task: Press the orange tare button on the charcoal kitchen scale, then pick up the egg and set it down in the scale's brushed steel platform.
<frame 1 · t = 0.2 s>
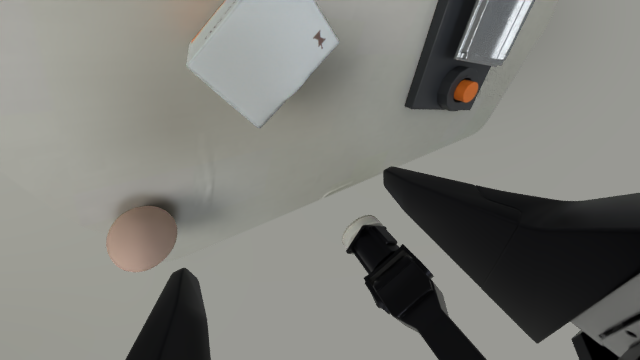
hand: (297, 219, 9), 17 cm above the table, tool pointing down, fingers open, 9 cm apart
egg: (149, 213, 24), on the table
tare button: (465, 91, 30), point 3 cm above the table, slide at 0.1 cm
cosmetic box: (232, 38, 19), on the table
scale: (458, 50, 30), on the table
brushed steel platform: (492, 22, 26), resting on scale
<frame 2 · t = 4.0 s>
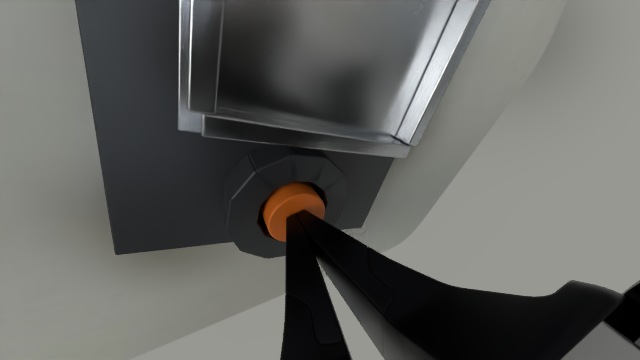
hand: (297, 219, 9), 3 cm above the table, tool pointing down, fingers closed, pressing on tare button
tare button: (292, 208, 10), point 3 cm above the table, slide at -0.6 cm, touching gripper
scale: (294, 92, 10), on the table
brushed steel platform: (353, 6, 7), resting on scale
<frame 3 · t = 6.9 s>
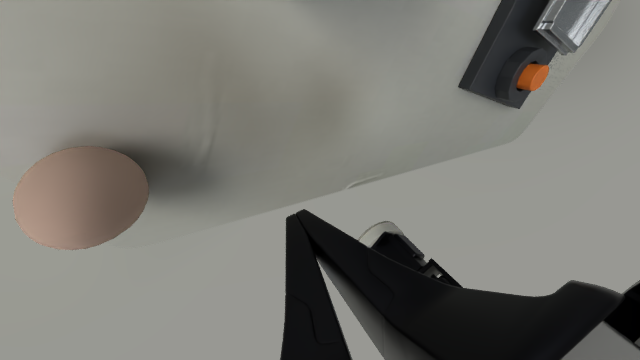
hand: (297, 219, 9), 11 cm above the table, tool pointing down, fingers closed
egg: (108, 166, 15), on the table
tare button: (531, 77, 25), point 3 cm above the table, slide at 0.1 cm
scale: (524, 30, 26), on the table
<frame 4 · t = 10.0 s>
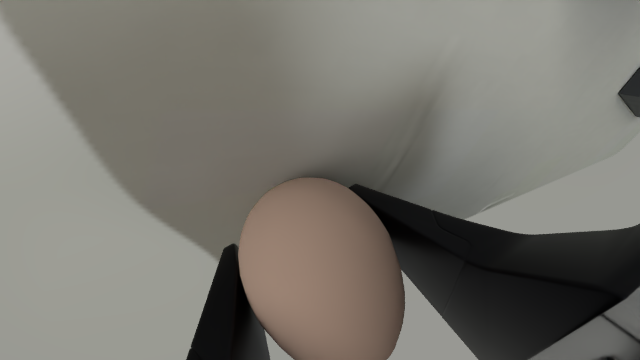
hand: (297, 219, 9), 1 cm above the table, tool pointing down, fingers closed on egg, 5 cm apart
egg: (285, 199, 11), on the table, touching gripper
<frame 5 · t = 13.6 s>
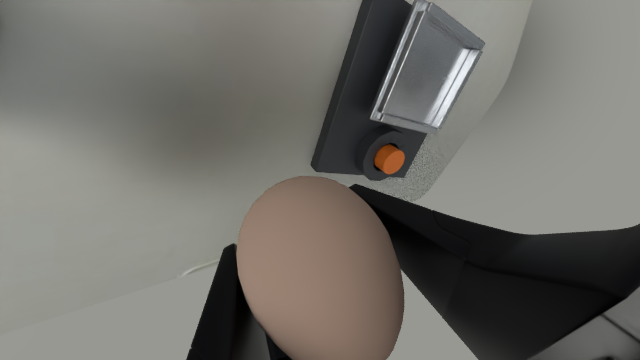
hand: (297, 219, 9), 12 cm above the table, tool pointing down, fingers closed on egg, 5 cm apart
egg: (284, 198, 11), point 10 cm above the table, touching gripper
tare button: (389, 159, 22), point 3 cm above the table, slide at 0.1 cm
scale: (386, 105, 23), on the table
brushed steel platform: (423, 78, 19), resting on scale
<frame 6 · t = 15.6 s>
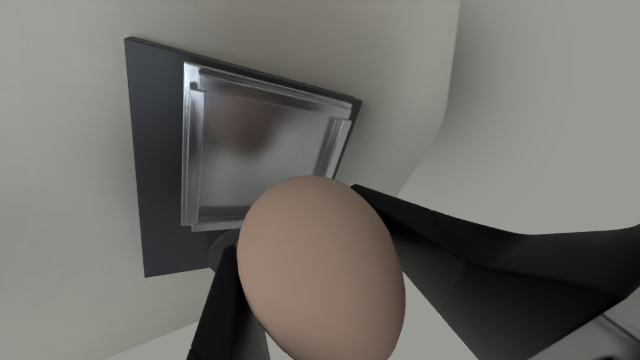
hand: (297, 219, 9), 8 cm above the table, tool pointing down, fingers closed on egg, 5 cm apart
egg: (284, 197, 11), point 7 cm above the table, touching gripper
tare button: (250, 256, 16), point 3 cm above the table, slide at 0.1 cm
scale: (250, 179, 17), on the table
brushed steel platform: (267, 160, 13), resting on scale
when the fingers open (5 cm above the table, at t = 17.0 s): egg stays where it is, resting on brushed steel platform.
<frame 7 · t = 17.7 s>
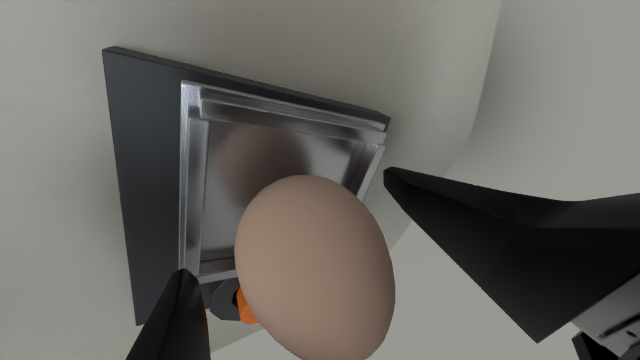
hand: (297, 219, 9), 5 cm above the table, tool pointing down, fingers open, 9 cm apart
egg: (281, 196, 11), point 3 cm above the table, touching brushed steel platform
tare button: (260, 298, 14), point 3 cm above the table, slide at 0.1 cm
scale: (259, 207, 15), on the table
brushed steel platform: (283, 193, 11), resting on scale
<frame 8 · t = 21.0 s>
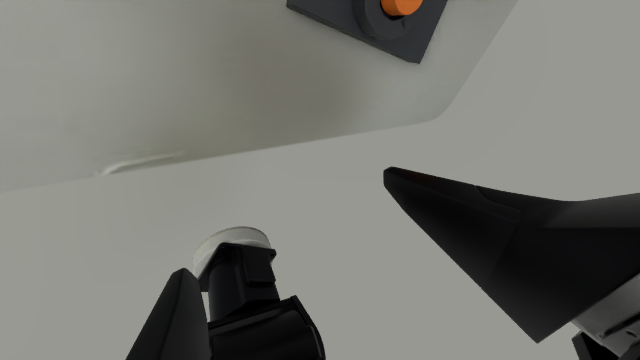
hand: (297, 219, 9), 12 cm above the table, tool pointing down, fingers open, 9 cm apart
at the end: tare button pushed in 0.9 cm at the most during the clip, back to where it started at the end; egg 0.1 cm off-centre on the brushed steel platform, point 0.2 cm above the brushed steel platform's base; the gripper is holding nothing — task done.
